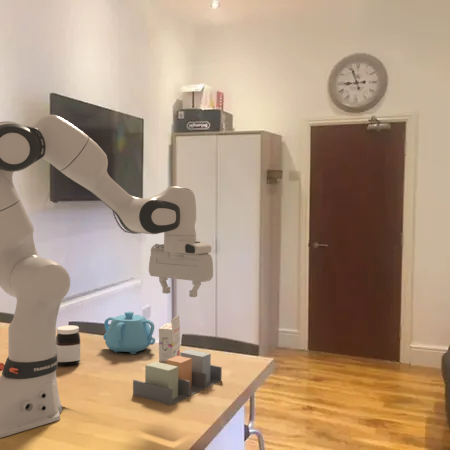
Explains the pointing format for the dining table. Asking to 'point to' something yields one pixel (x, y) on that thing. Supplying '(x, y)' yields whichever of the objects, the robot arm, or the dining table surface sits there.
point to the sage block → (162, 376)
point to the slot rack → (184, 387)
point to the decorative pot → (128, 333)
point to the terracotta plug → (182, 367)
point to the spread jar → (68, 345)
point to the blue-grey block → (199, 361)
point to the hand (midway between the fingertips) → (179, 294)
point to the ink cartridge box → (169, 340)
